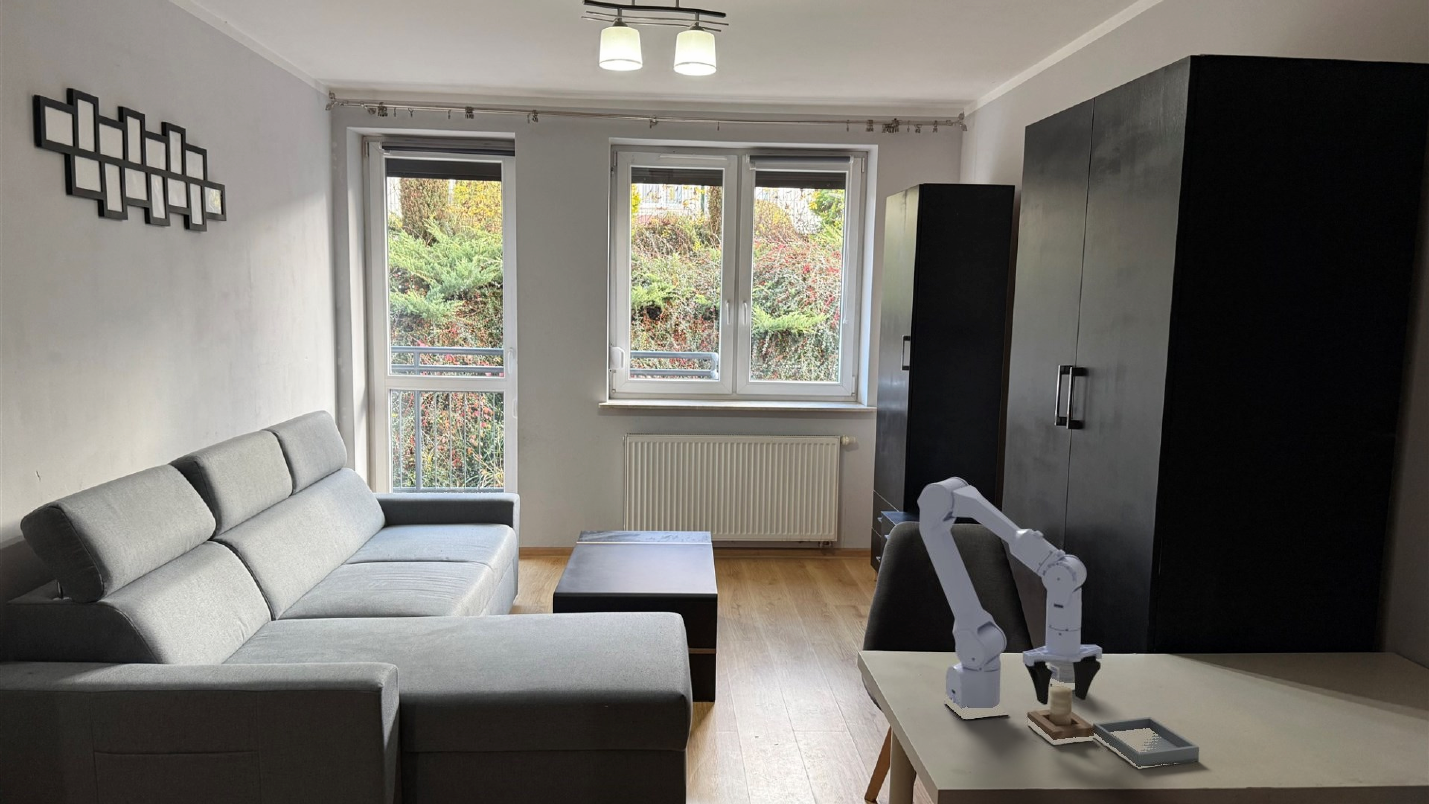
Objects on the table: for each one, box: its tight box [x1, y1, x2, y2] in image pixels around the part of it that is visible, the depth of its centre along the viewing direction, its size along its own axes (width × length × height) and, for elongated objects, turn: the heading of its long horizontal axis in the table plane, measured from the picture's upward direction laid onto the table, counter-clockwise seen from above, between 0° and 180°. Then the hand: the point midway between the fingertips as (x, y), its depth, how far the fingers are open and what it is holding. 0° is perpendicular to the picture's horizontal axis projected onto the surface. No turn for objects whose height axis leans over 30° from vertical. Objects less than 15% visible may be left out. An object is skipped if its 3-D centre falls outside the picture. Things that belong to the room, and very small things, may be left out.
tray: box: [1092, 716, 1200, 767], centre depth 150 cm, size 12×12×2 cm
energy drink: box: [1049, 661, 1075, 683], centre depth 176 cm, size 5×5×12 cm
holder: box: [1026, 709, 1094, 740], centre depth 156 cm, size 8×8×2 cm
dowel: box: [1049, 686, 1073, 727], centre depth 156 cm, size 4×4×8 cm
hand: (1061, 700), depth 156 cm, fingers open, 7 cm apart
